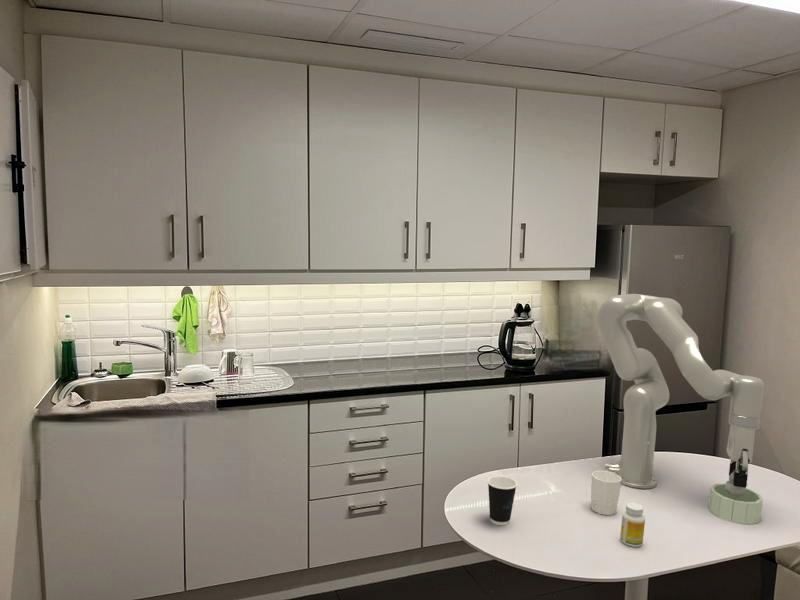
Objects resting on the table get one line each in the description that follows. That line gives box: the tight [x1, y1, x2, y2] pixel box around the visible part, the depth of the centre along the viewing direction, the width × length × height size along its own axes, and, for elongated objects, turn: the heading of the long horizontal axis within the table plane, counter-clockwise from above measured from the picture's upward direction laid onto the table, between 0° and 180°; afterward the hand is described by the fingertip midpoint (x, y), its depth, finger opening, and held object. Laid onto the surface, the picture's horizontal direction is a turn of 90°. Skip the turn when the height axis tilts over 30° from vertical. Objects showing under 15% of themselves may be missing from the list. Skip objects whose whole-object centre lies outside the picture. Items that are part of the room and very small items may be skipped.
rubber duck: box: [724, 469, 748, 496], centre depth 169 cm, size 5×7×8 cm
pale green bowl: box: [708, 483, 764, 525], centre depth 170 cm, size 13×13×6 cm
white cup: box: [590, 470, 622, 516], centre depth 168 cm, size 8×8×10 cm
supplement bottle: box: [619, 502, 646, 548], centre depth 151 cm, size 5×5×10 cm
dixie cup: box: [486, 475, 518, 526], centre depth 159 cm, size 8×8×11 cm
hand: (737, 481), depth 169 cm, fingers open, 6 cm apart
